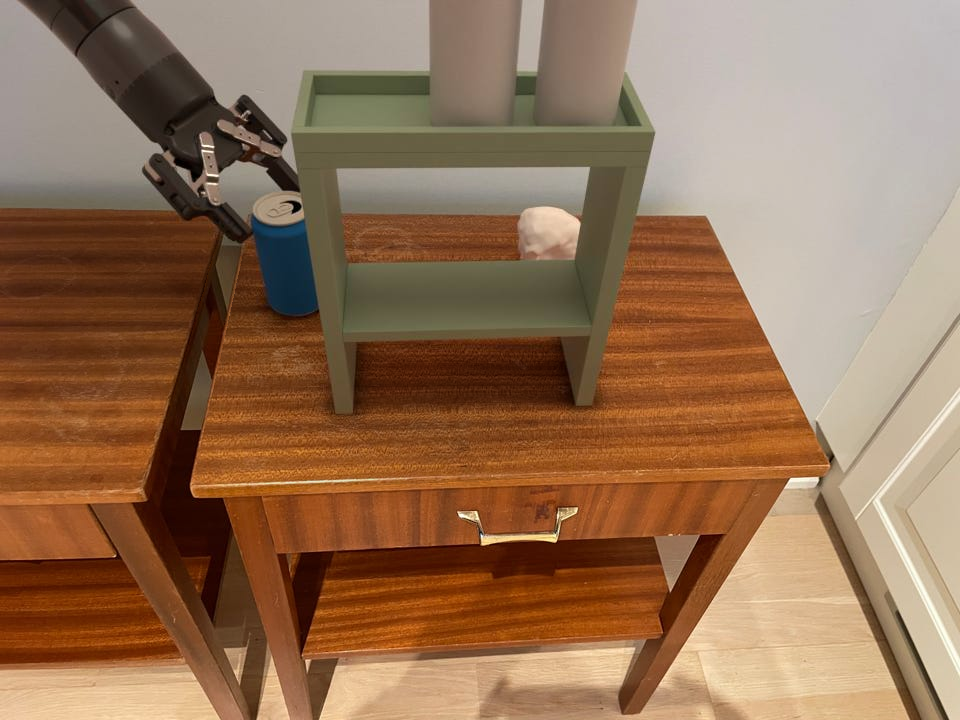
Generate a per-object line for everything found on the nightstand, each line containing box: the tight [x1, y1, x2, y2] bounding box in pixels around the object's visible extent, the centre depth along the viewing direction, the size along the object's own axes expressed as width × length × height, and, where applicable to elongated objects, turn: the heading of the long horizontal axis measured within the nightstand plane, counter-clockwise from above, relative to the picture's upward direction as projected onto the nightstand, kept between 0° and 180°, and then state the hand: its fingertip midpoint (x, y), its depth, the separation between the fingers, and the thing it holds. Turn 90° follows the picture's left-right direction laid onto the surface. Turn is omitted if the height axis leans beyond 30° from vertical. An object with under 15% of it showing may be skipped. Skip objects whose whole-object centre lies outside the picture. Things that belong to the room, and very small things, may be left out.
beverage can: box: [249, 190, 319, 317], centre depth 74 cm, size 6×6×12 cm
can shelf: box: [290, 0, 656, 170], centre depth 49 cm, size 24×9×13 cm, turn 94°
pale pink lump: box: [516, 206, 581, 260], centre depth 81 cm, size 6×8×12 cm
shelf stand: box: [296, 166, 648, 415], centre depth 63 cm, size 24×9×26 cm, turn 94°
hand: (274, 215), depth 72 cm, fingers open, 8 cm apart
